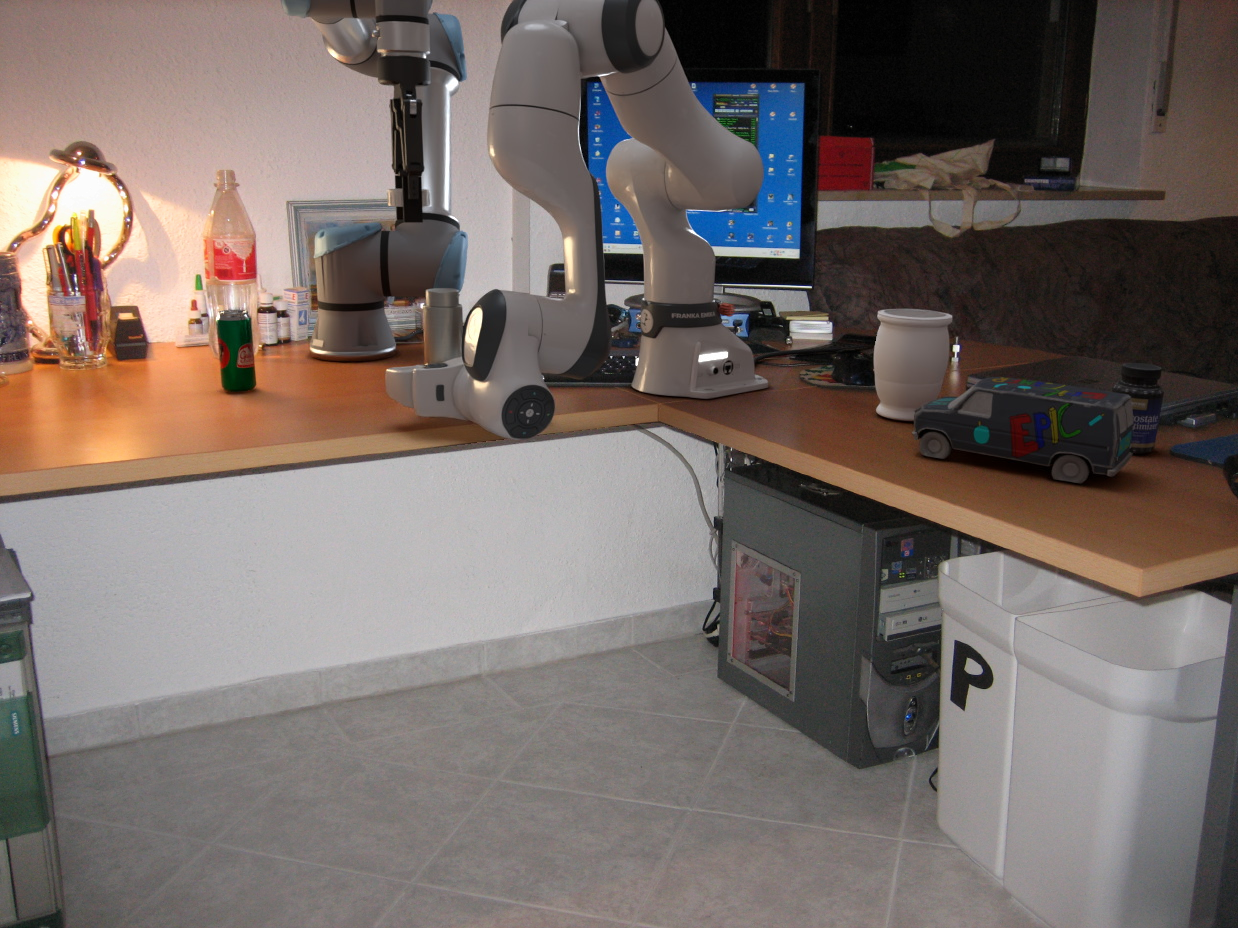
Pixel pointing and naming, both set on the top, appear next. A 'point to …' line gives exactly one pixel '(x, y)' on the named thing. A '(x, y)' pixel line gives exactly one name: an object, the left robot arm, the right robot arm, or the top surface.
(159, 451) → the top surface
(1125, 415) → the toy van
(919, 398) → the jar
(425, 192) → the lid
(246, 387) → the soda can
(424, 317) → the metal thermos bottle
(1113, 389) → the pill bottle
